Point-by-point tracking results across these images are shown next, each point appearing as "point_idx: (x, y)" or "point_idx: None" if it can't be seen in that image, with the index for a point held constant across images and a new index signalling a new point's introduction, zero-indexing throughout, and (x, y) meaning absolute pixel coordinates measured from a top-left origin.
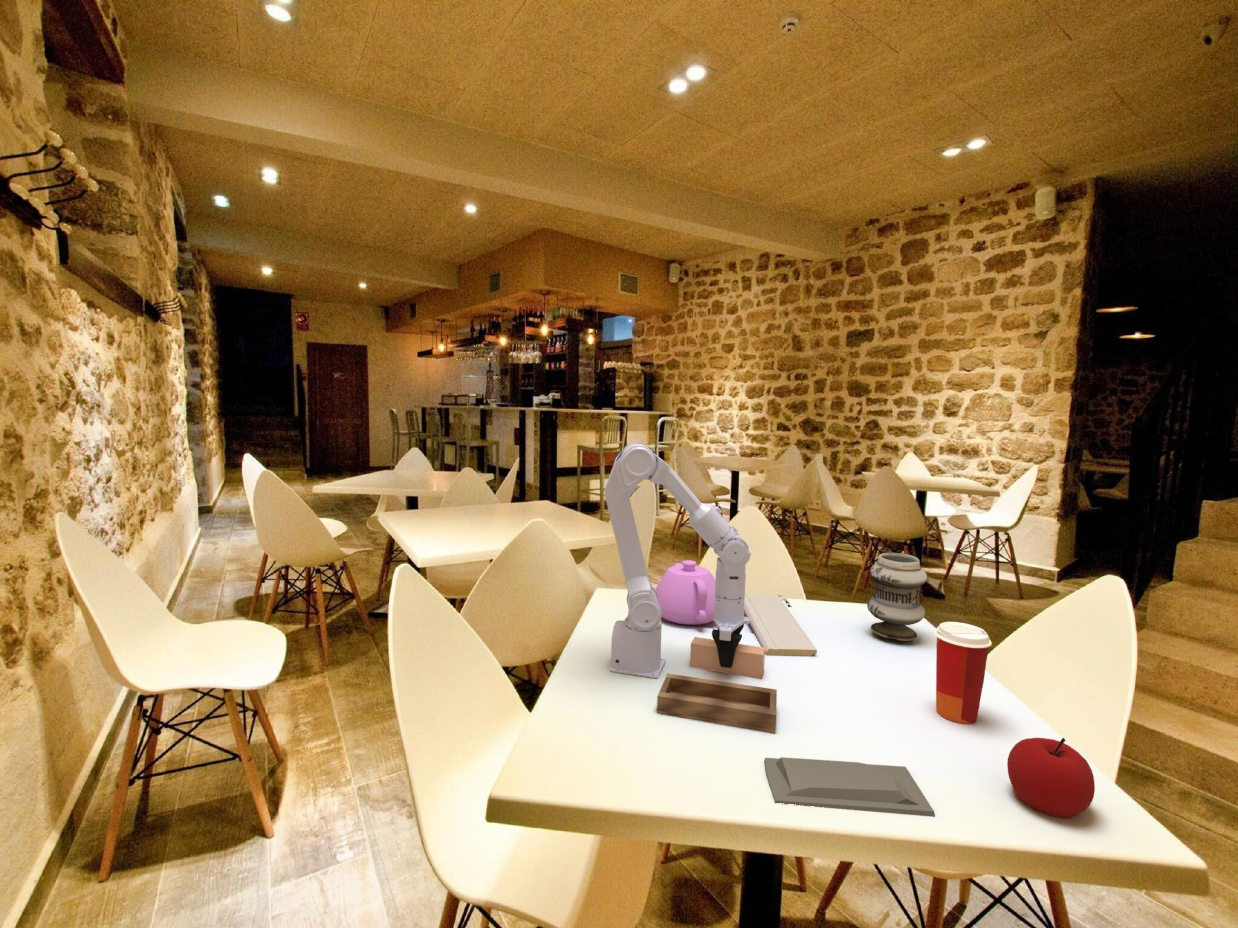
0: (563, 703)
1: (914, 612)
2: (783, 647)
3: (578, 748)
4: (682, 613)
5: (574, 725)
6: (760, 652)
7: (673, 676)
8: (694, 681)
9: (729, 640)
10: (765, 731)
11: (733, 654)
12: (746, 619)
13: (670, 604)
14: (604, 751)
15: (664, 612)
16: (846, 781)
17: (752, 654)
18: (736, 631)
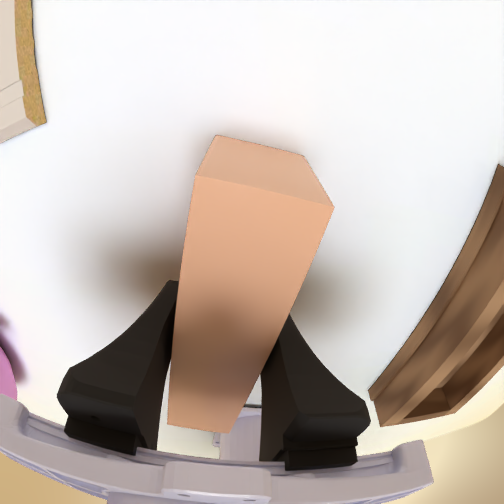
0: (374, 448)
1: None
2: (4, 56)
3: (464, 413)
4: (3, 384)
5: (424, 429)
6: (288, 218)
7: (397, 418)
8: (433, 389)
9: (420, 442)
10: None
11: (303, 342)
12: (234, 500)
13: None
14: (479, 397)
15: (16, 399)
16: None
17: (308, 264)
18: (148, 385)
